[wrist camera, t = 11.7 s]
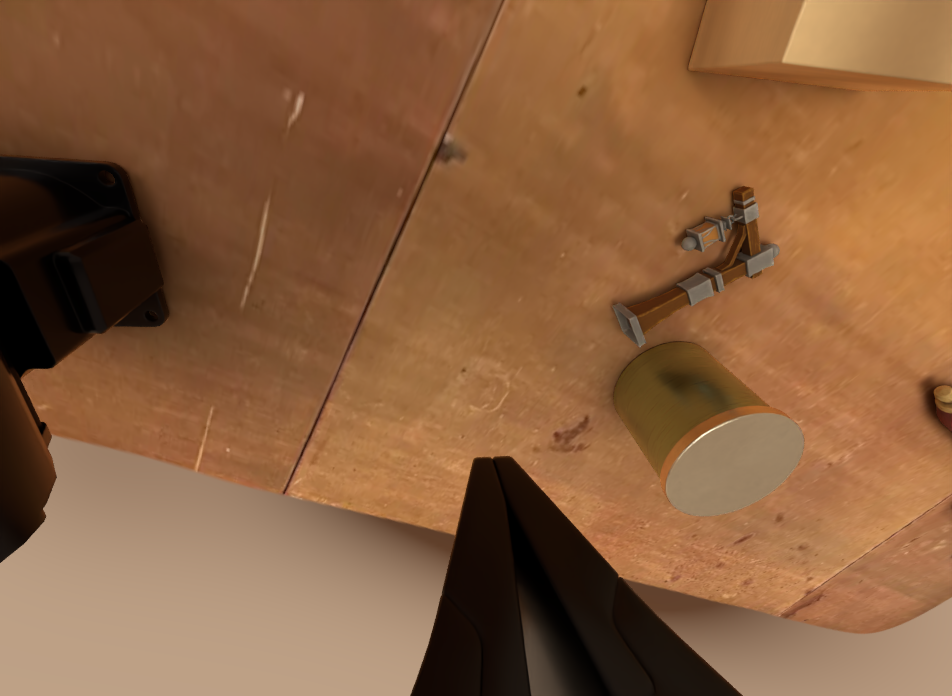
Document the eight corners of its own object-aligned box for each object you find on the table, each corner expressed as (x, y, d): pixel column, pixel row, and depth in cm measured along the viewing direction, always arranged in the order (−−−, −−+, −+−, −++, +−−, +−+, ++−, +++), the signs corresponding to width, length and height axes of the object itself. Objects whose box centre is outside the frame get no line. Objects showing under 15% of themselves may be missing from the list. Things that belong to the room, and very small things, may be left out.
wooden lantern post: (751, 173, 20) (765, 257, 22) (594, 263, 20) (623, 335, 23) (783, 178, 18) (794, 267, 20) (612, 275, 19) (641, 351, 21)
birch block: (686, 70, 17) (781, 63, 12) (725, -69, 15) (854, -135, 10) (861, 91, 18) (1002, 91, 14) (919, -35, 16) (1105, -80, 12)
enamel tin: (598, 430, 26) (648, 520, 20) (626, 337, 23) (694, 414, 17) (694, 427, 27) (767, 513, 21) (734, 338, 24) (831, 412, 18)
